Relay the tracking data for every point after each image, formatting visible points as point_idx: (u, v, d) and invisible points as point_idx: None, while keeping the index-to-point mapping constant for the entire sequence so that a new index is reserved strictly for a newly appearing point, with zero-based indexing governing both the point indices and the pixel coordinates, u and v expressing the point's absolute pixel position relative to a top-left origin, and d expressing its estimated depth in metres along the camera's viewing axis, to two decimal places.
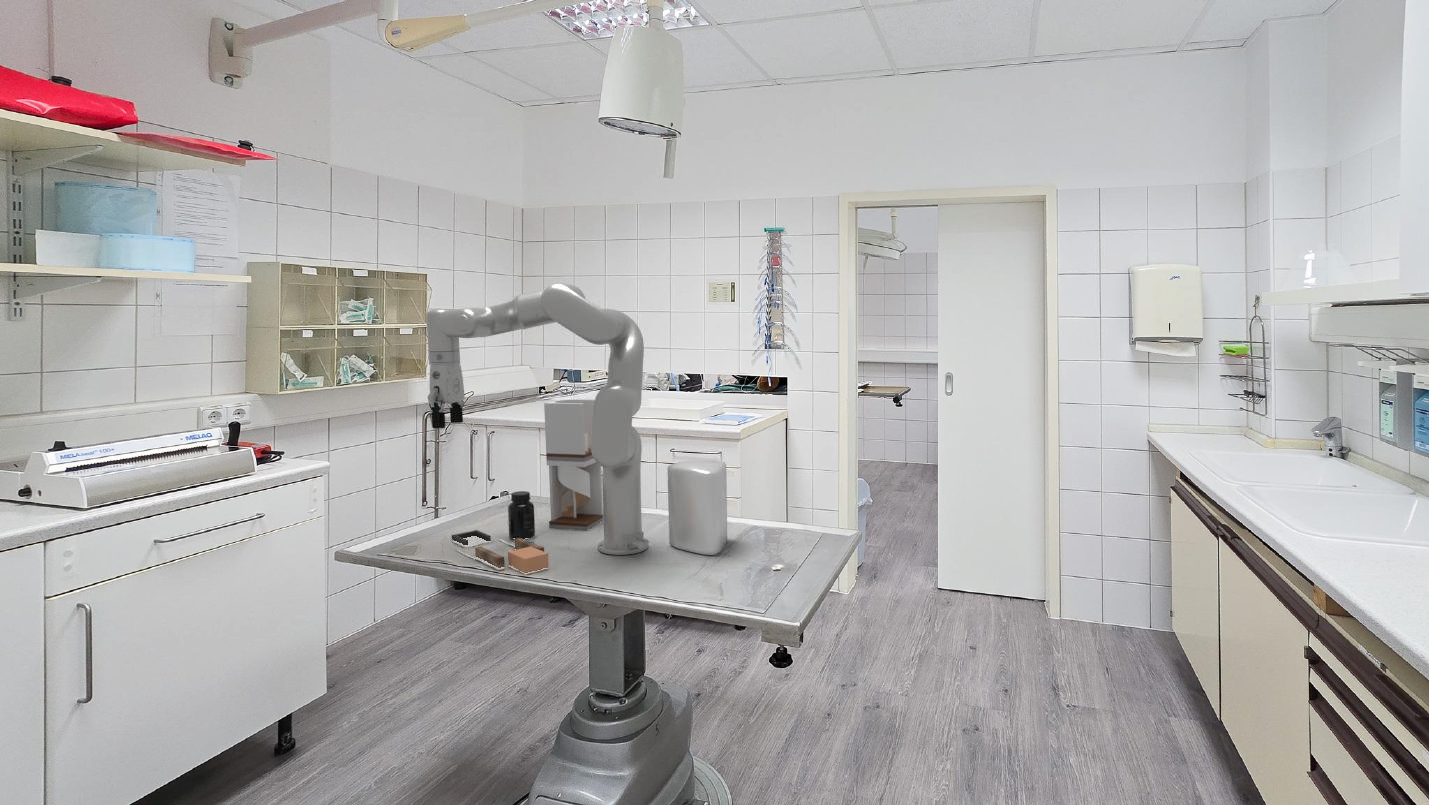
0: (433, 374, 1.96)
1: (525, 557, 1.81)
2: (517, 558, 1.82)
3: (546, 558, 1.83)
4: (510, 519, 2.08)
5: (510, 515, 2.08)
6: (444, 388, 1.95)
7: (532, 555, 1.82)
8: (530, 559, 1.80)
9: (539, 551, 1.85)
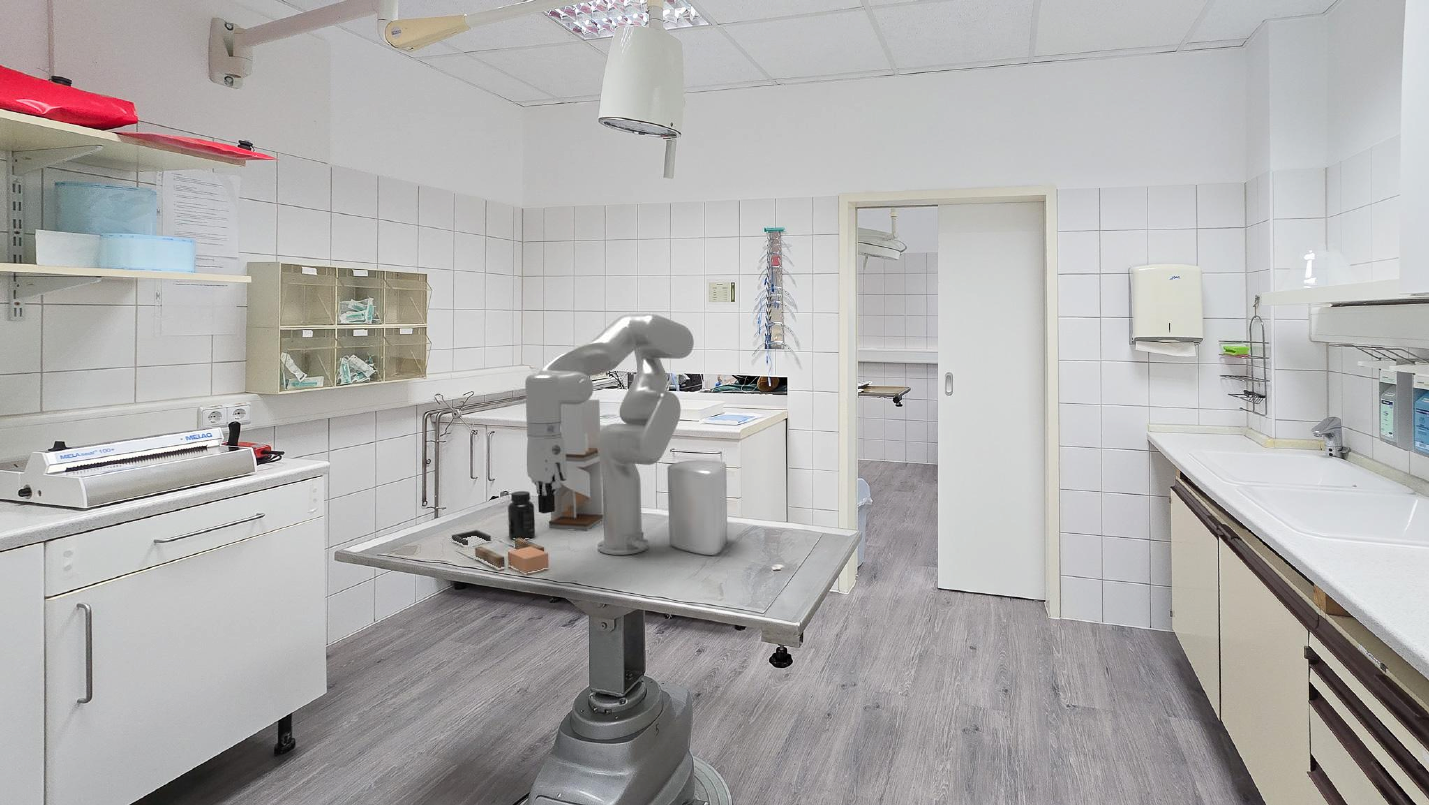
0: None
1: (525, 557, 1.81)
2: (517, 558, 1.82)
3: (546, 558, 1.83)
4: (510, 519, 2.08)
5: (510, 515, 2.08)
6: (565, 464, 1.72)
7: (532, 555, 1.82)
8: (530, 559, 1.80)
9: (539, 551, 1.85)
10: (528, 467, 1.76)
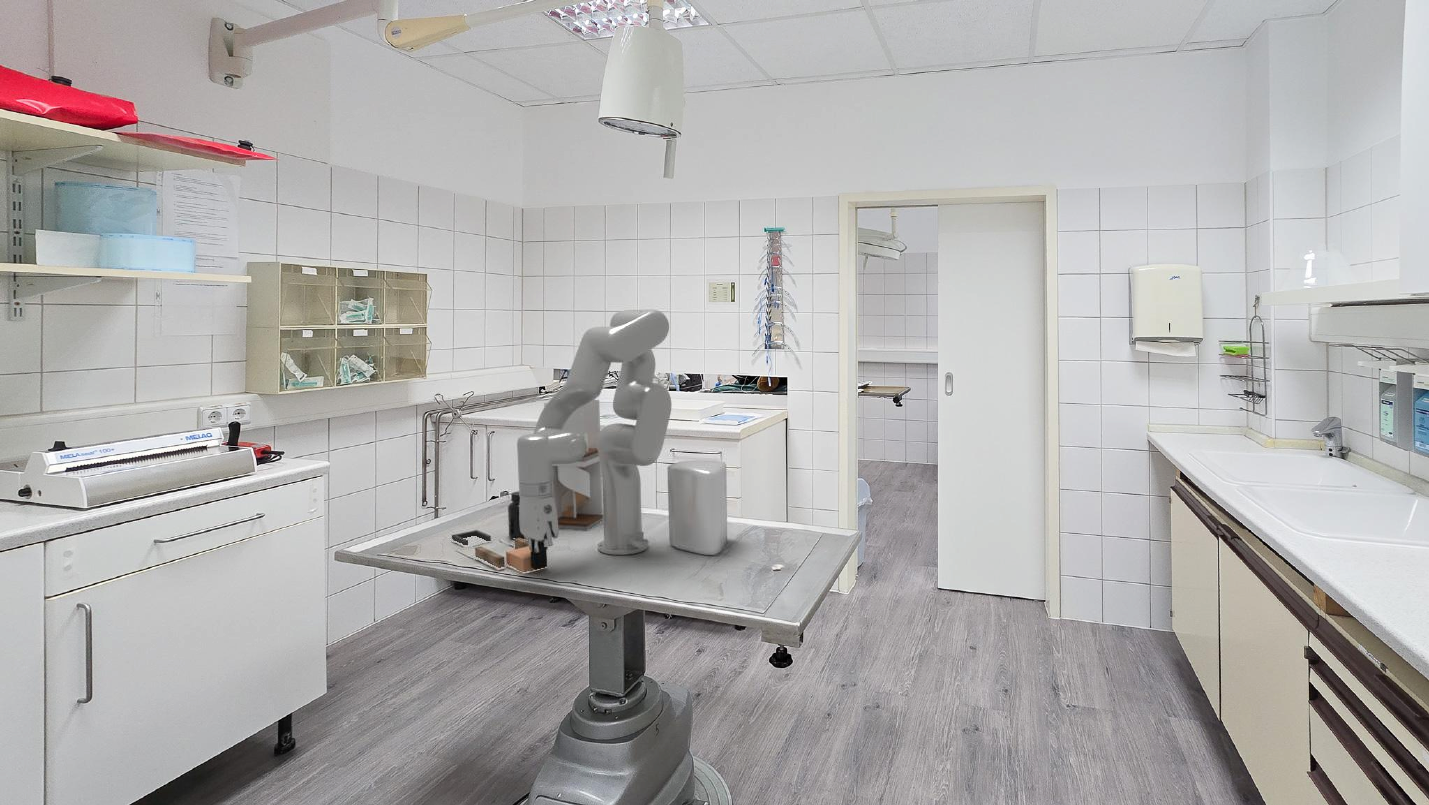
0: None
1: (523, 556, 1.81)
2: (515, 558, 1.83)
3: None
4: (510, 519, 2.08)
5: (510, 515, 2.08)
6: (556, 522, 1.77)
7: (530, 554, 1.83)
8: (528, 559, 1.81)
9: None
10: (521, 524, 1.81)
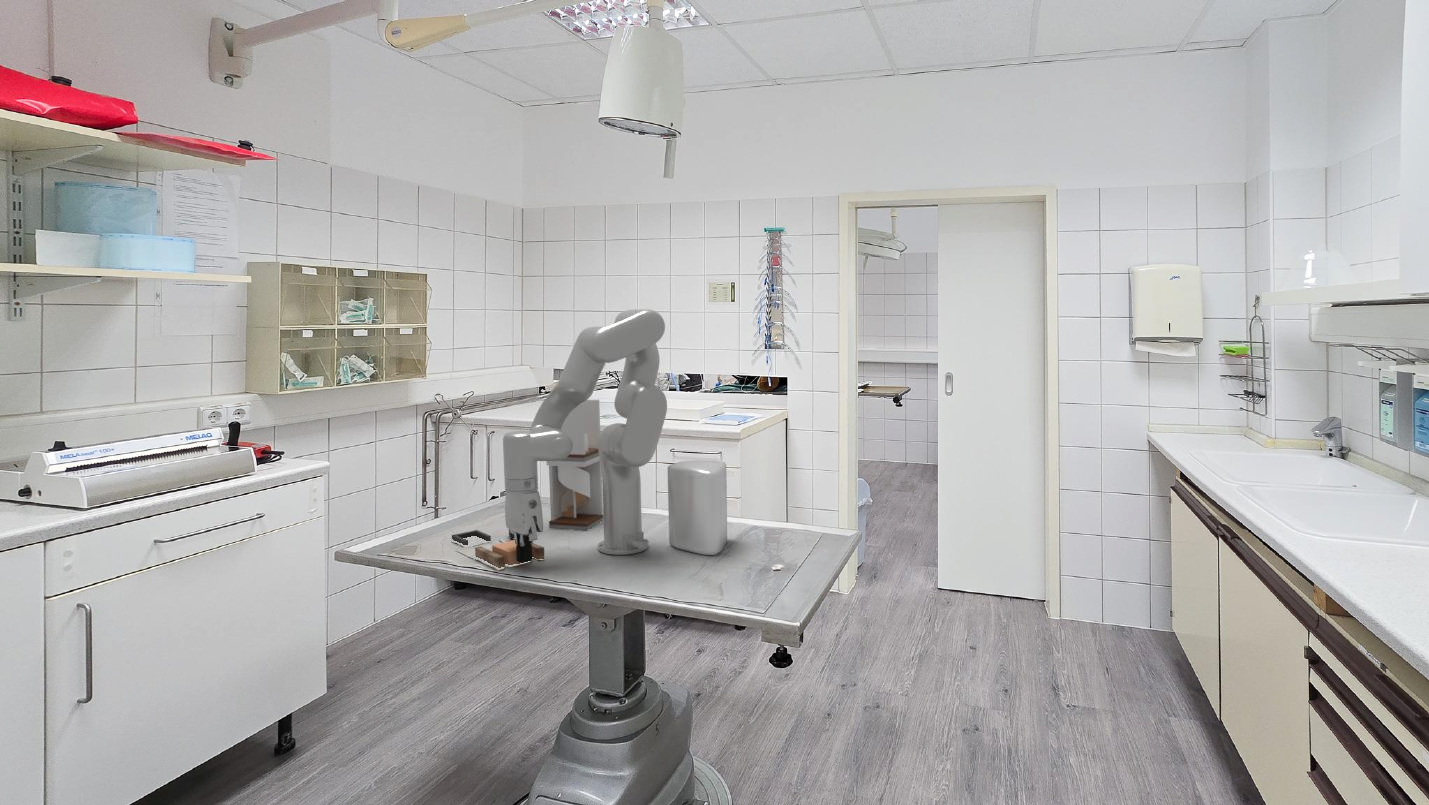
0: None
1: (509, 550, 1.86)
2: (501, 551, 1.87)
3: None
4: None
5: None
6: (541, 516, 1.82)
7: None
8: (513, 552, 1.86)
9: None
10: (506, 519, 1.86)
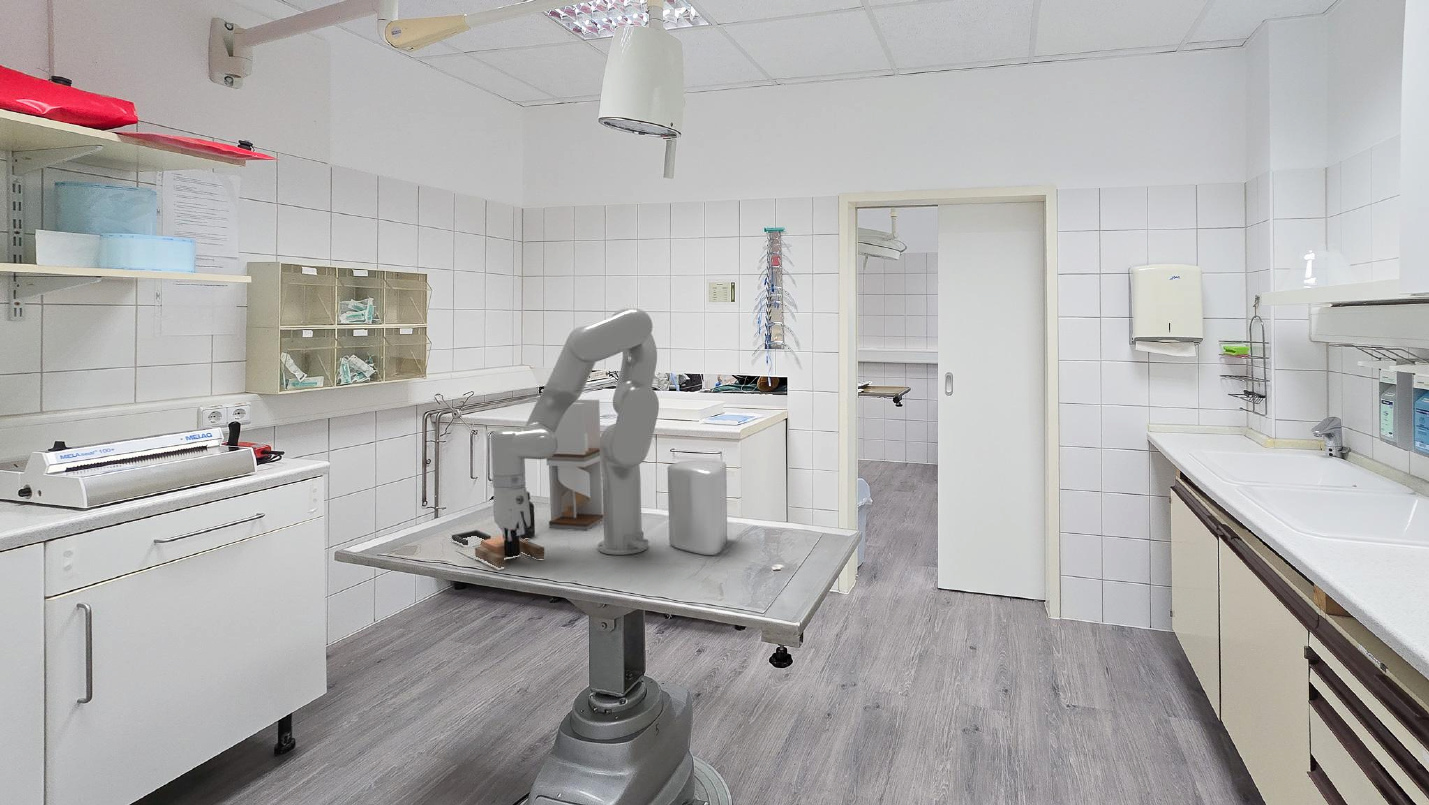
0: None
1: (497, 545, 1.91)
2: (489, 547, 1.92)
3: None
4: None
5: None
6: (528, 512, 1.86)
7: None
8: (502, 547, 1.90)
9: None
10: (495, 514, 1.90)
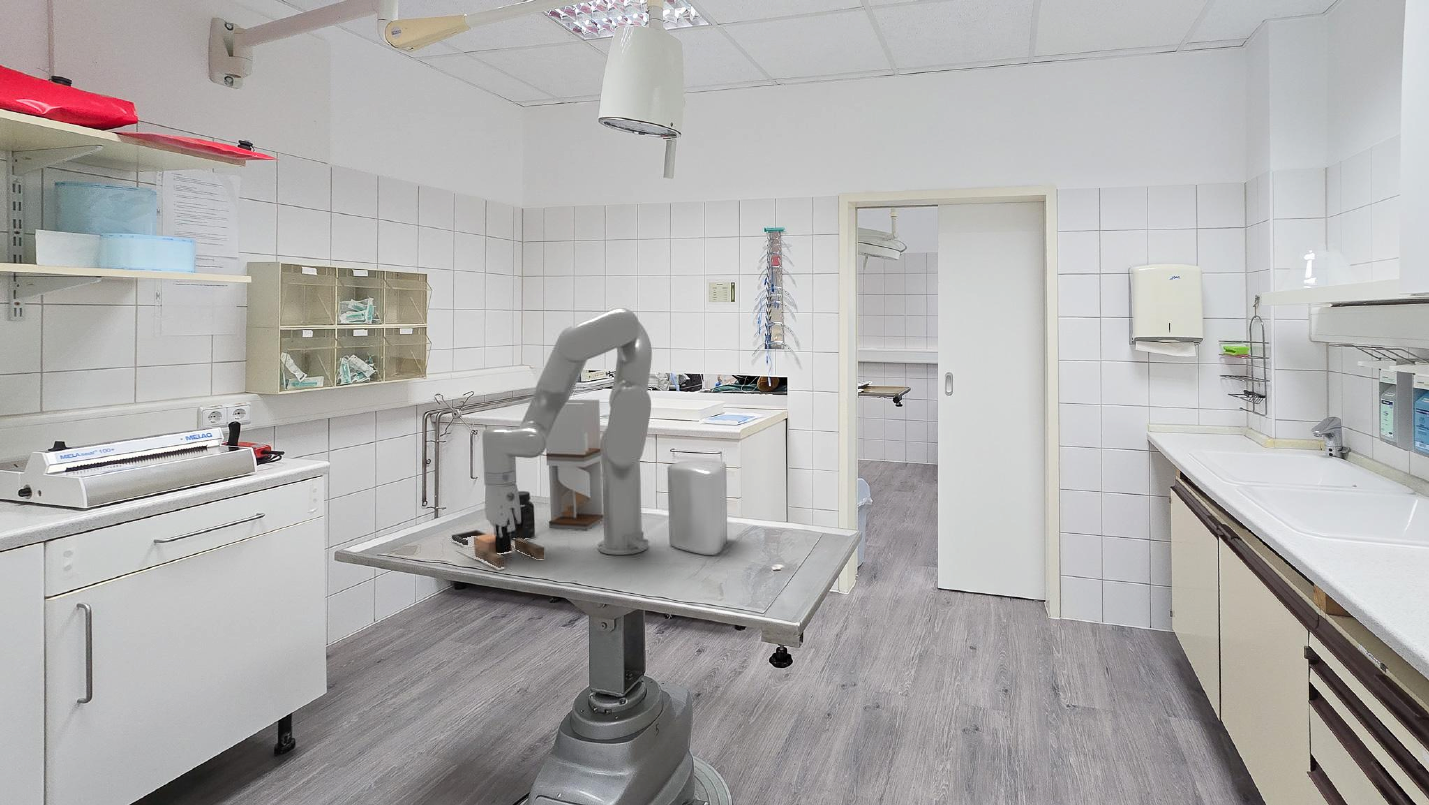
0: None
1: (489, 541, 1.94)
2: (482, 543, 1.95)
3: None
4: None
5: None
6: (519, 509, 1.90)
7: None
8: (494, 543, 1.93)
9: None
10: (486, 511, 1.93)
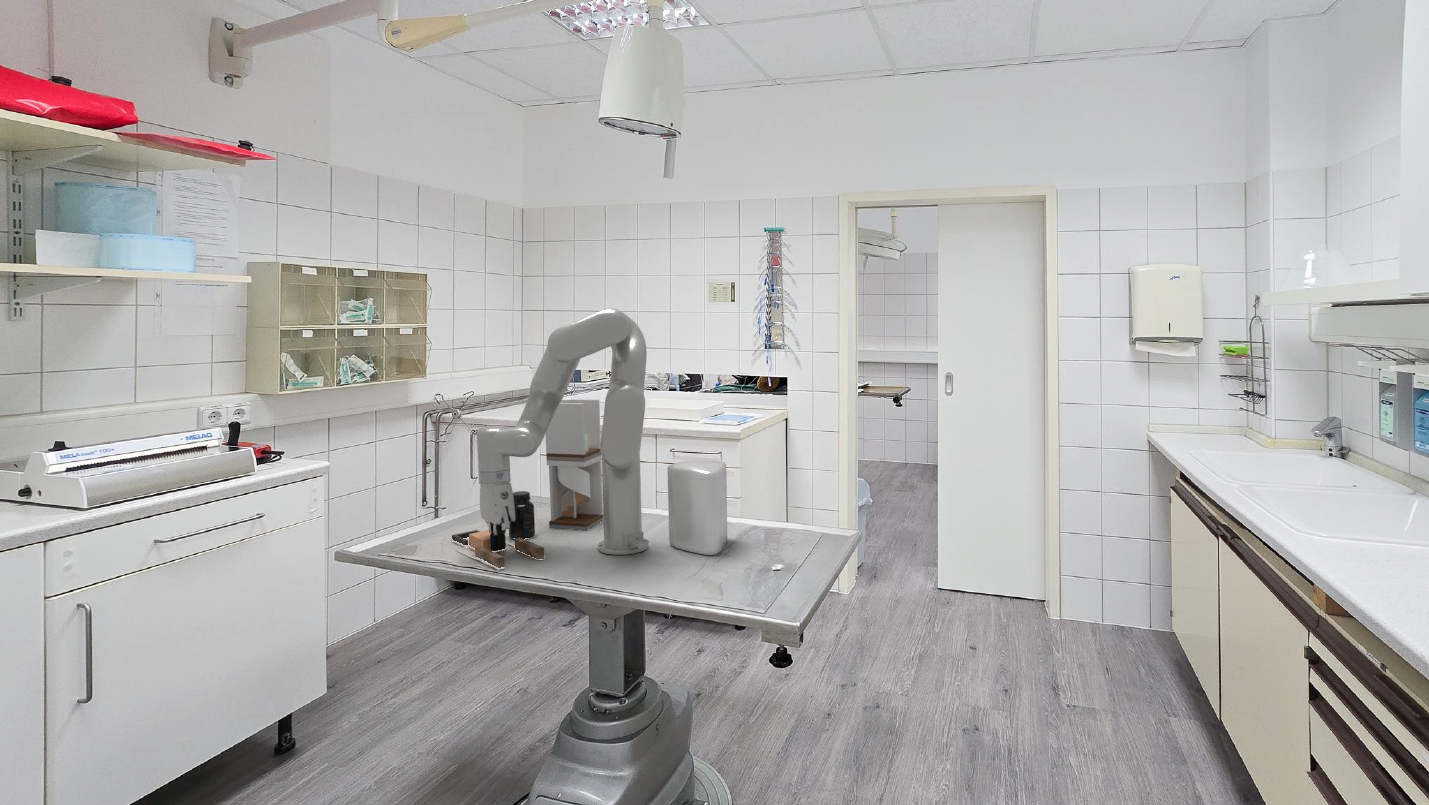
0: None
1: (484, 538, 1.96)
2: (476, 540, 1.98)
3: None
4: None
5: None
6: (513, 507, 1.92)
7: None
8: (488, 540, 1.96)
9: None
10: (481, 509, 1.96)
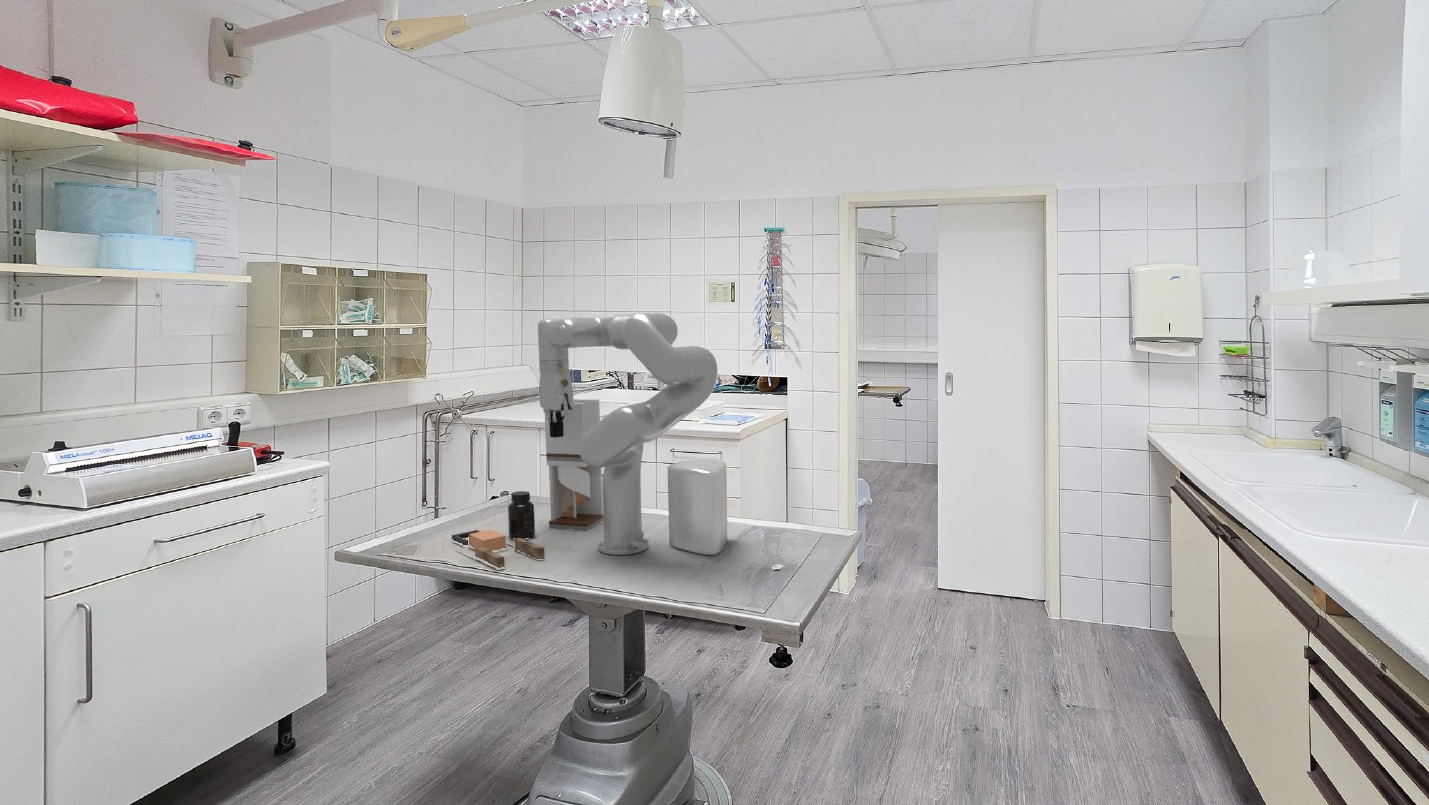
0: None
1: (483, 538, 1.96)
2: (476, 540, 1.98)
3: (503, 540, 1.99)
4: (510, 519, 2.08)
5: (510, 515, 2.08)
6: (572, 395, 2.03)
7: (490, 537, 1.98)
8: (488, 540, 1.96)
9: (497, 533, 2.01)
10: (540, 399, 2.07)
